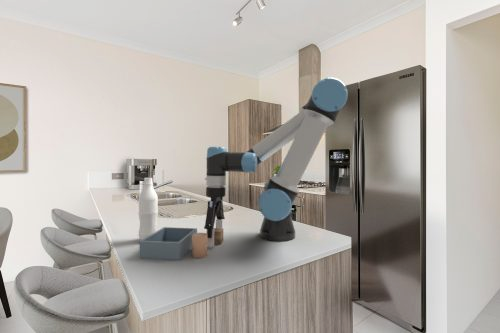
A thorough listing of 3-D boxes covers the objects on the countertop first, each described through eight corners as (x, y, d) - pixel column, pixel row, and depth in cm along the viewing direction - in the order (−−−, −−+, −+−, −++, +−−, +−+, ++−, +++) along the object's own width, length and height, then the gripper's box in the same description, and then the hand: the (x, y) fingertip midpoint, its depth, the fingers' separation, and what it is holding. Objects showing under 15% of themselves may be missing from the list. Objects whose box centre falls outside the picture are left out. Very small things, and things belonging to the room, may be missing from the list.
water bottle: (151, 243, 96) (151, 178, 96) (134, 242, 98) (134, 178, 97) (161, 238, 103) (161, 177, 103) (145, 237, 105) (145, 177, 104)
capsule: (208, 253, 87) (209, 233, 87) (204, 258, 82) (204, 237, 82) (195, 252, 88) (195, 232, 88) (190, 257, 83) (190, 236, 83)
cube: (223, 240, 101) (223, 228, 101) (220, 244, 96) (220, 231, 96) (211, 240, 102) (211, 227, 101) (207, 244, 97) (207, 231, 96)
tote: (197, 242, 98) (197, 228, 98) (179, 260, 81) (179, 243, 81) (163, 240, 100) (163, 227, 100) (139, 257, 83) (139, 241, 82)
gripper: (214, 183, 111) (213, 230, 112) (196, 189, 86) (195, 251, 87) (231, 183, 110) (230, 231, 111) (217, 190, 85) (216, 252, 86)
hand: (214, 240), depth 99 cm, fingers open, 13 cm apart
